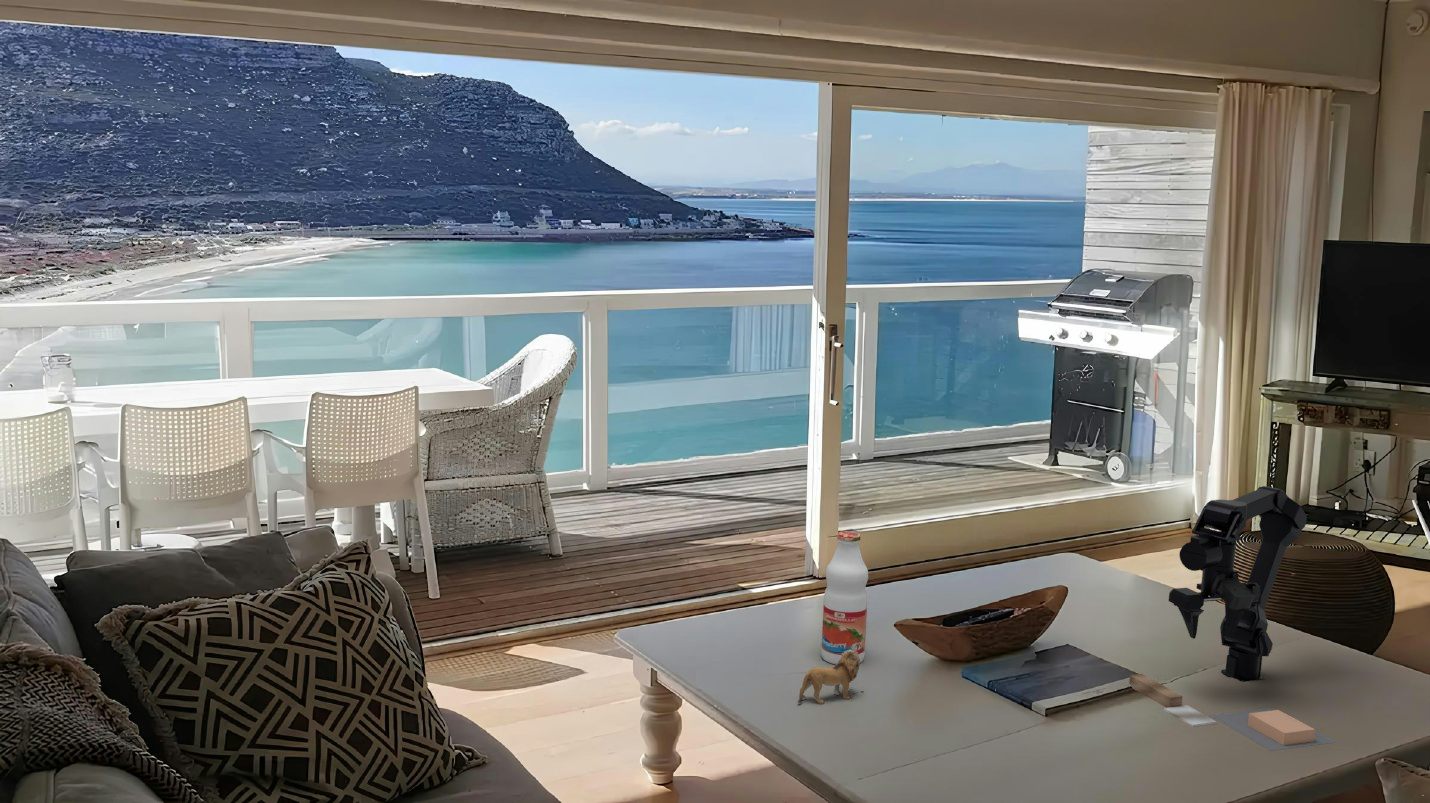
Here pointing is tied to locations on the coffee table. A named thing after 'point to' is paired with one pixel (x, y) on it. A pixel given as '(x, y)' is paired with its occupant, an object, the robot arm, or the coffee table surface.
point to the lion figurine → (832, 676)
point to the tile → (1281, 727)
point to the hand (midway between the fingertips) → (1211, 636)
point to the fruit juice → (845, 600)
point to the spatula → (1168, 700)
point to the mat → (1240, 725)
